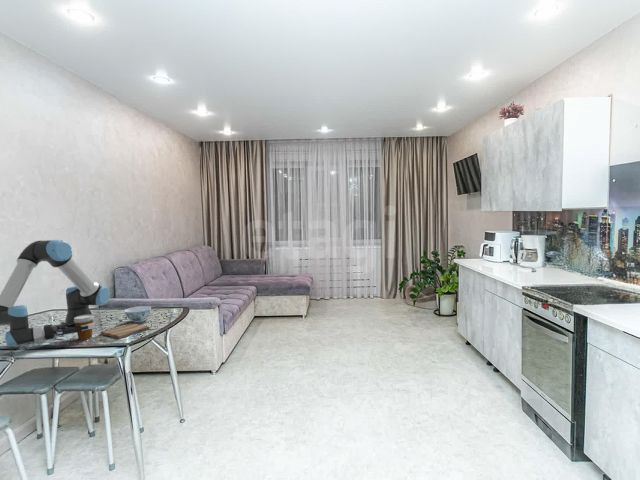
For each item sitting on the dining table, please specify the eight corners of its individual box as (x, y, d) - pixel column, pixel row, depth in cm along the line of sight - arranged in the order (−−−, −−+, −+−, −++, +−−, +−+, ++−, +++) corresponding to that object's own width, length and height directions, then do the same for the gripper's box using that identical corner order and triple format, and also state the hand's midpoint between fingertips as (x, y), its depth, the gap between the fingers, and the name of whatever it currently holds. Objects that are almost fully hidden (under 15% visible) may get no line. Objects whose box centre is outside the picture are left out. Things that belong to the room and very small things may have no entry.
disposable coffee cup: (81, 336, 216) (79, 314, 215) (98, 334, 217) (96, 313, 216) (71, 341, 206) (69, 319, 205) (90, 340, 207) (88, 318, 206)
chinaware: (141, 324, 233) (140, 312, 233) (120, 324, 236) (118, 312, 236) (156, 317, 248) (155, 306, 247) (136, 317, 251) (135, 306, 250)
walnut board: (101, 334, 218) (101, 331, 217) (131, 325, 233) (131, 323, 233) (119, 338, 208) (118, 335, 208) (149, 329, 223) (149, 326, 223)
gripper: (44, 335, 209) (92, 326, 222) (44, 345, 192) (96, 334, 205) (43, 321, 209) (91, 313, 222) (43, 330, 192) (95, 321, 205)
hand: (94, 323), depth 214 cm, fingers closed on disposable coffee cup, 8 cm apart
